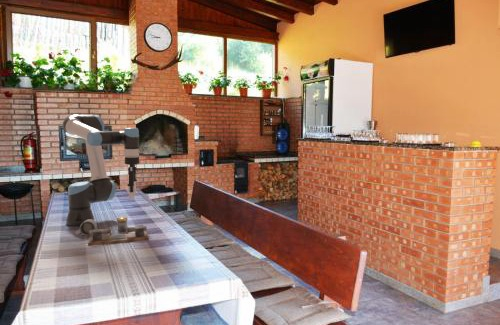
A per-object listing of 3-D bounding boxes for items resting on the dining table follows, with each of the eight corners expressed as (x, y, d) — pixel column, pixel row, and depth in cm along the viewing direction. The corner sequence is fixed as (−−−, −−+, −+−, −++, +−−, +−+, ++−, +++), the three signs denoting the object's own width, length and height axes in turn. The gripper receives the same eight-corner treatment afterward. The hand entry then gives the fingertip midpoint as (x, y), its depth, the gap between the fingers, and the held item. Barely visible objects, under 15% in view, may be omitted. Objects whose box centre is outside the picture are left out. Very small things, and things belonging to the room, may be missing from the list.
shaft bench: (88, 245, 186) (87, 232, 185) (89, 239, 196) (88, 226, 195) (148, 240, 195) (148, 227, 194) (146, 234, 205) (146, 221, 205)
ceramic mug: (98, 231, 210) (97, 217, 209) (95, 235, 202) (94, 220, 201) (77, 232, 208) (76, 218, 207) (73, 237, 200) (72, 222, 199)
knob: (115, 231, 210) (114, 218, 209) (122, 228, 215) (121, 216, 214) (122, 232, 208) (122, 219, 207) (129, 230, 213) (129, 217, 212)
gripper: (137, 159, 198) (138, 200, 201) (140, 154, 222) (140, 191, 225) (122, 159, 197) (123, 200, 199) (126, 154, 221) (127, 191, 223)
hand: (132, 195), depth 212 cm, fingers open, 13 cm apart
